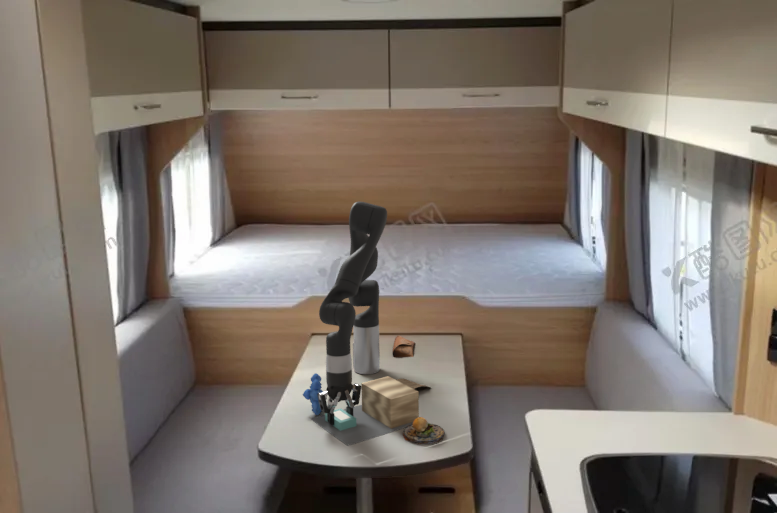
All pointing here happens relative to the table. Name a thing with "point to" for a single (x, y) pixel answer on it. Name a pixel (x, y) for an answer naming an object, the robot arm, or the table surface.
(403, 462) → the table surface
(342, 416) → the card box
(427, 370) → the table surface
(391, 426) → the oak block
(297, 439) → the table surface
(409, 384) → the clay tablet
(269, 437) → the table surface
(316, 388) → the blue knobby sculpture
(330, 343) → the robot arm
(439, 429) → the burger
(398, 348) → the sunglasses case
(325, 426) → the mat
